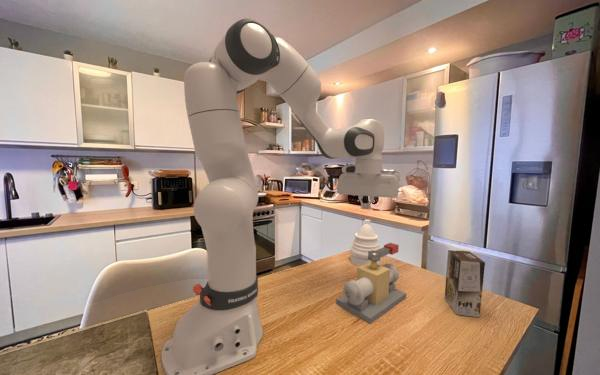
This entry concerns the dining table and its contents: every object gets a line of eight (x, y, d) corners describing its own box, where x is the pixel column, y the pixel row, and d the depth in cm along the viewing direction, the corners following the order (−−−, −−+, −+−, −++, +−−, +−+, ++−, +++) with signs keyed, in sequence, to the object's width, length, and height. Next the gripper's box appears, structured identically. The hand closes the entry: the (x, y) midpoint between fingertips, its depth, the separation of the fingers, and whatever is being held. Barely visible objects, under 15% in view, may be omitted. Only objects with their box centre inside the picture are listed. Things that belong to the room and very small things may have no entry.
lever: (375, 262, 72) (376, 255, 72) (365, 259, 75) (365, 251, 74) (399, 252, 81) (399, 245, 81) (389, 249, 84) (389, 242, 83)
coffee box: (480, 318, 68) (486, 262, 66) (455, 314, 69) (460, 260, 68) (465, 300, 77) (470, 250, 75) (443, 297, 78) (447, 249, 77)
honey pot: (353, 254, 114) (354, 216, 112) (382, 258, 109) (384, 219, 107) (347, 264, 102) (348, 222, 101) (379, 270, 97) (381, 226, 96)
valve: (370, 323, 65) (372, 276, 64) (336, 303, 74) (337, 261, 73) (406, 297, 78) (408, 257, 76) (373, 283, 87) (374, 247, 86)
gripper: (398, 169, 84) (395, 209, 85) (338, 167, 87) (336, 205, 89) (402, 170, 78) (399, 212, 79) (337, 167, 81) (335, 208, 83)
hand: (365, 208), depth 84 cm, fingers closed
